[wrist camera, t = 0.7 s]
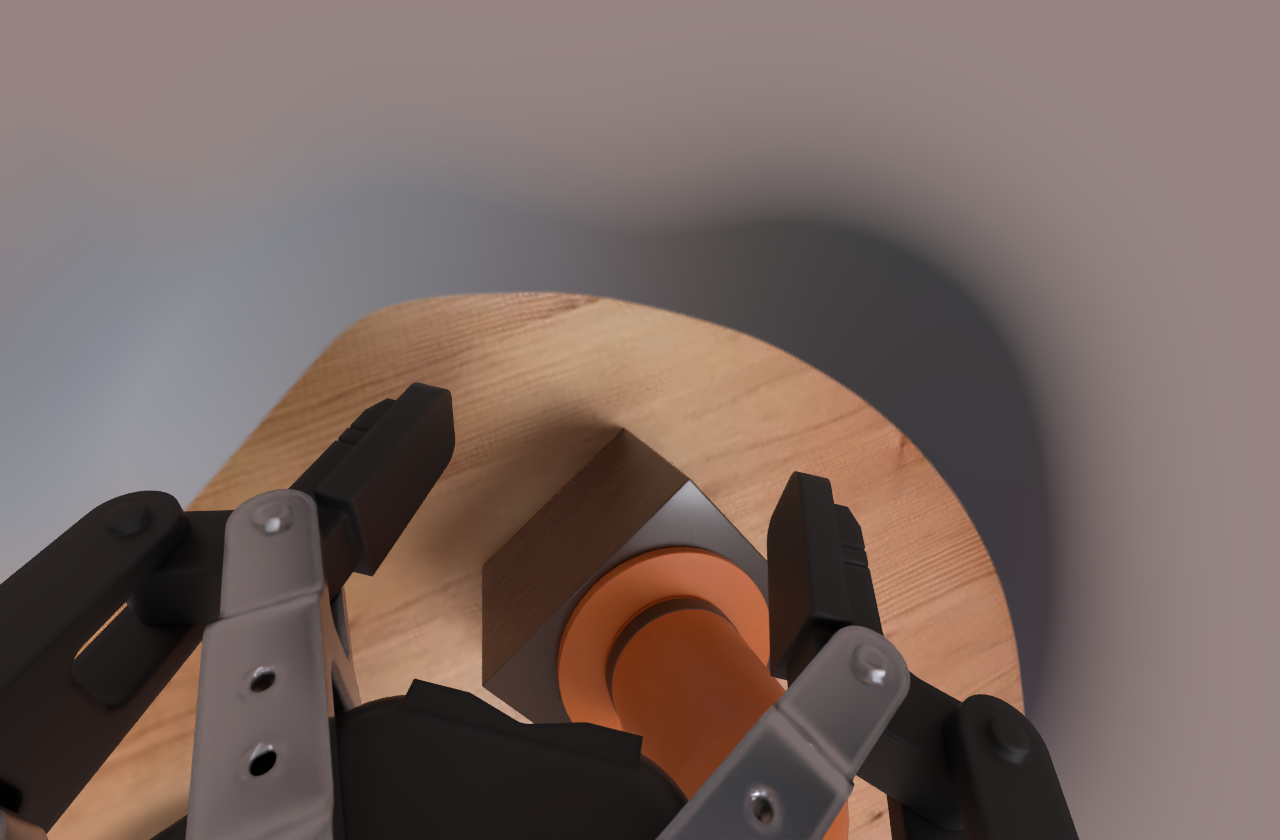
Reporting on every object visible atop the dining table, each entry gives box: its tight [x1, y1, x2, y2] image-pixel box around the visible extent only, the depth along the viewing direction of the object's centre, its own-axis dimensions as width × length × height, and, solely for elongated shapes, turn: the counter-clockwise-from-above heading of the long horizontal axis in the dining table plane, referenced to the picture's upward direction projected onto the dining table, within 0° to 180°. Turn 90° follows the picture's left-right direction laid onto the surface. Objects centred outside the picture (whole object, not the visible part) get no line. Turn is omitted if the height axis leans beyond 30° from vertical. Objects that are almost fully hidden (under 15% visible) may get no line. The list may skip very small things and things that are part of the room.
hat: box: [557, 547, 849, 840], centre depth 17 cm, size 9×9×10 cm
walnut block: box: [482, 429, 770, 724], centre depth 26 cm, size 10×11×10 cm
